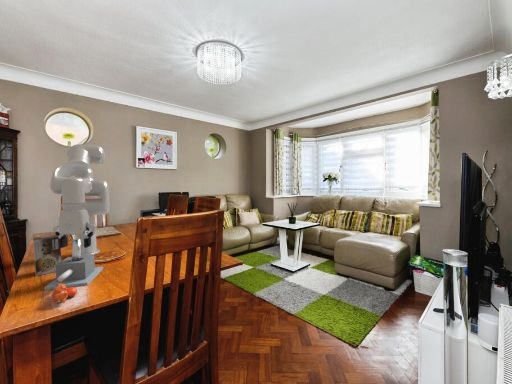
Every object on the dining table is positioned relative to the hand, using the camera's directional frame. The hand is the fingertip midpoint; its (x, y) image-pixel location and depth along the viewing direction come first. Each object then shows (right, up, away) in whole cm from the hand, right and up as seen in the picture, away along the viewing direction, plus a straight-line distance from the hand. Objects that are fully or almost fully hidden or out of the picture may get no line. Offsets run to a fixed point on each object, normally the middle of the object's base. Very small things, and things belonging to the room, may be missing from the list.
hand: (75, 246), depth 98 cm
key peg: (0, -9, 0) cm, 9 cm away
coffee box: (-19, -13, +8) cm, 24 cm away
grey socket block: (+1, -13, -2) cm, 14 cm away
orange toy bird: (+9, -14, -17) cm, 24 cm away
